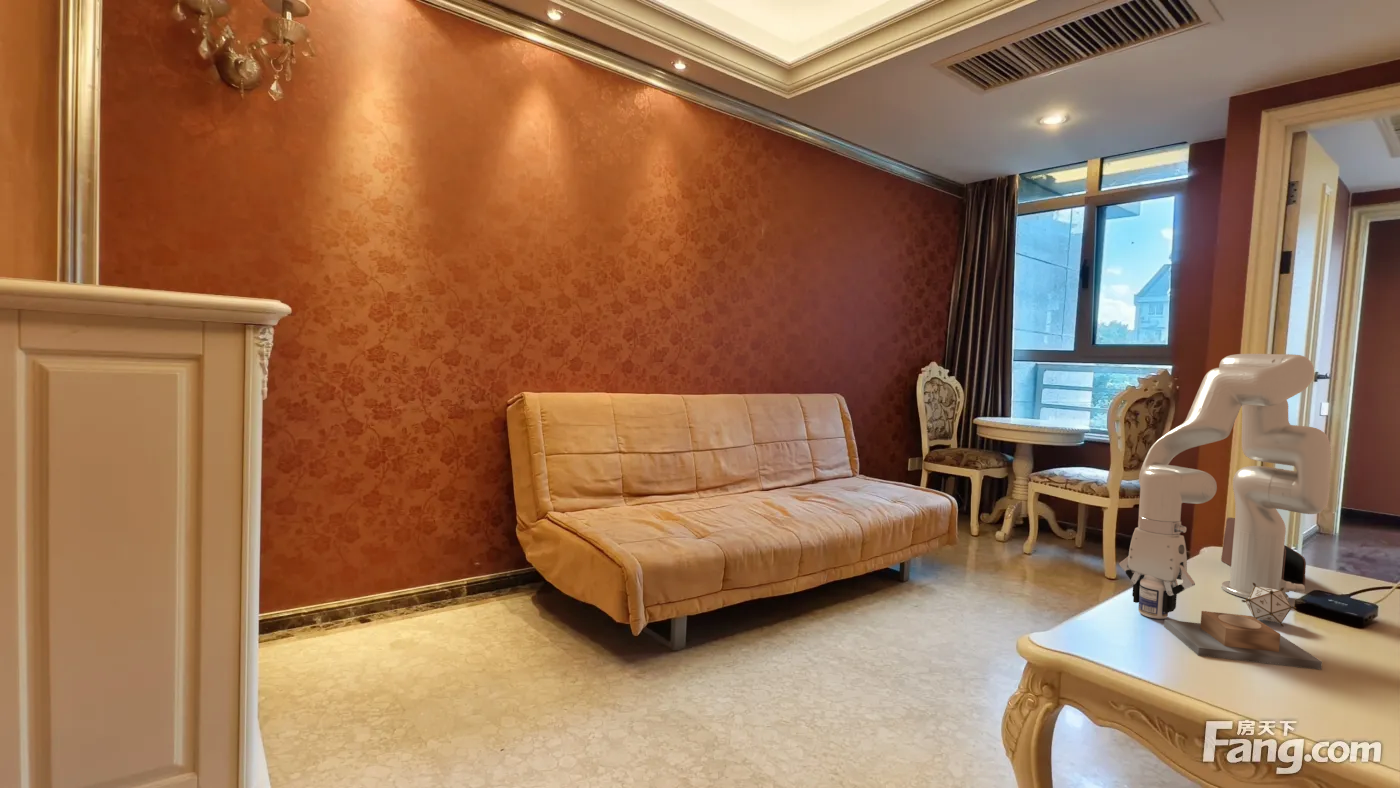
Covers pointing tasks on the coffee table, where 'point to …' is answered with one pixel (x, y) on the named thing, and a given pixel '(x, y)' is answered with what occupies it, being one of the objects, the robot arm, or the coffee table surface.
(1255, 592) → the game die
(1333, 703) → the coffee table surface
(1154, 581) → the pill bottle
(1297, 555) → the letter holder
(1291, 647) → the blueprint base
